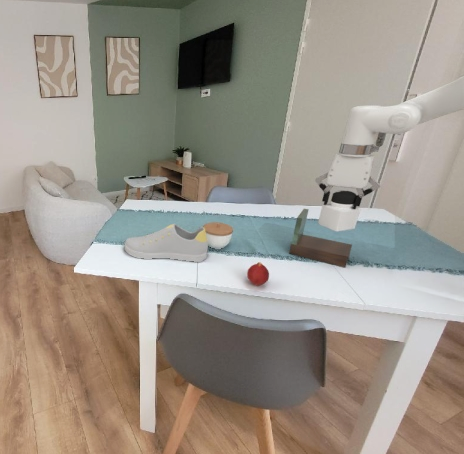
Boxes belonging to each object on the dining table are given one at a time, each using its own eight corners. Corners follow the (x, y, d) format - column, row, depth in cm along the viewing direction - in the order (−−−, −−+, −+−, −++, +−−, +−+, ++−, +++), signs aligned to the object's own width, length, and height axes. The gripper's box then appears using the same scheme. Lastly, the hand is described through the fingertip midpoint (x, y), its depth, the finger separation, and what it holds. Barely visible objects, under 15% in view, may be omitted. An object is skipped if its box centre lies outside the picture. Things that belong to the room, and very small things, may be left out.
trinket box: (203, 238, 119) (205, 217, 116) (231, 242, 115) (234, 220, 111) (199, 249, 110) (201, 227, 107) (229, 254, 106) (232, 230, 102)
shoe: (206, 266, 99) (209, 234, 94) (121, 256, 108) (121, 226, 104) (206, 252, 108) (209, 222, 103) (128, 244, 117) (128, 216, 113)
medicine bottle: (355, 229, 94) (365, 193, 89) (335, 232, 93) (345, 196, 88) (335, 221, 100) (344, 187, 96) (317, 224, 99) (325, 190, 95)
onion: (250, 277, 92) (254, 255, 89) (269, 284, 88) (274, 261, 85) (242, 285, 88) (246, 262, 85) (262, 293, 84) (266, 269, 81)
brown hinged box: (348, 254, 101) (360, 217, 96) (345, 267, 94) (357, 228, 88) (295, 242, 111) (303, 208, 106) (289, 253, 104) (297, 217, 99)
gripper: (395, 149, 84) (375, 207, 91) (322, 146, 95) (310, 198, 102) (395, 153, 79) (374, 214, 86) (318, 150, 90) (305, 204, 97)
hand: (339, 205), depth 94 cm, fingers closed on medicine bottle, 6 cm apart
